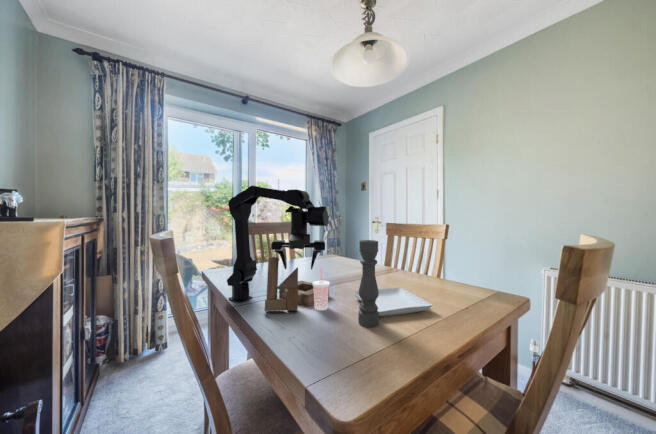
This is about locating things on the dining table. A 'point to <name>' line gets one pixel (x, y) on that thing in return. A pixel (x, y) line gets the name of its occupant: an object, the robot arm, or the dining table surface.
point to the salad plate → (397, 302)
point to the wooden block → (288, 284)
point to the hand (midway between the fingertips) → (298, 269)
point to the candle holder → (368, 285)
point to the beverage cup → (321, 293)
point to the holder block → (302, 293)
